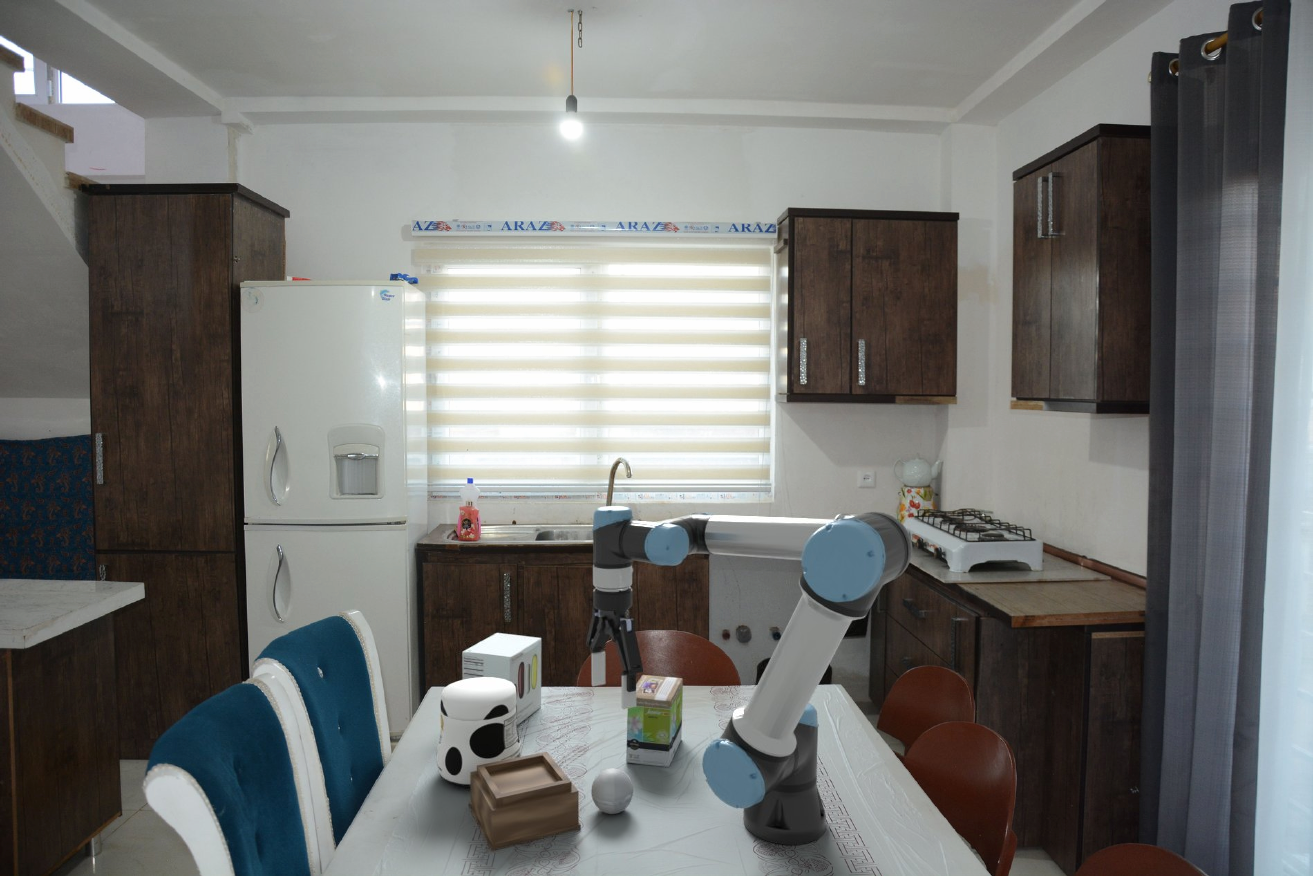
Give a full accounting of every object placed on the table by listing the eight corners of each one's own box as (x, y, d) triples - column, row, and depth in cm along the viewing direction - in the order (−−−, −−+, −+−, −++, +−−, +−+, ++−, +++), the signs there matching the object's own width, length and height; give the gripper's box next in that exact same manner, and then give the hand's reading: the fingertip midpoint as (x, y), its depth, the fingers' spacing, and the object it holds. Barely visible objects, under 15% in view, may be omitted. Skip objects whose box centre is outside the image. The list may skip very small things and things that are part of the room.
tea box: (671, 768, 173) (671, 700, 172) (625, 763, 175) (625, 696, 174) (682, 739, 188) (683, 676, 187) (640, 735, 190) (640, 673, 189)
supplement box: (510, 733, 190) (510, 657, 189) (461, 726, 194) (460, 651, 193) (543, 706, 207) (543, 636, 206) (496, 700, 211) (496, 631, 210)
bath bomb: (641, 811, 155) (642, 770, 154) (609, 827, 149) (609, 784, 149) (614, 796, 161) (614, 757, 160) (582, 810, 155) (582, 769, 155)
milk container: (432, 763, 175) (432, 680, 174) (513, 751, 181) (512, 671, 180) (441, 800, 159) (440, 710, 158) (529, 786, 165) (528, 699, 164)
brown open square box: (580, 828, 149) (580, 783, 148) (491, 851, 141) (491, 803, 141) (550, 789, 163) (550, 747, 163) (468, 807, 156) (468, 764, 156)
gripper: (661, 598, 147) (661, 713, 148) (603, 572, 169) (603, 673, 170) (624, 603, 144) (624, 721, 145) (569, 576, 165) (570, 679, 166)
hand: (613, 695), depth 157 cm, fingers open, 13 cm apart
